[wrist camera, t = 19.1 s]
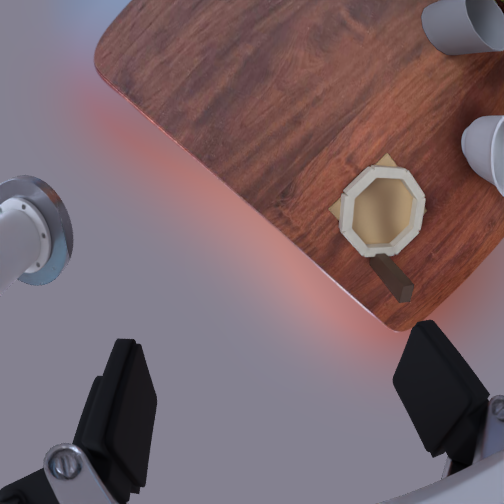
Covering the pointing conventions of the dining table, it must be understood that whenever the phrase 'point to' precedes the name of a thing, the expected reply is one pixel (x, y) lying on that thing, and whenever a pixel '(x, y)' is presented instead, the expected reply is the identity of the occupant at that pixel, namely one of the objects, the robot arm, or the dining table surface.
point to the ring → (380, 252)
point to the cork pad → (380, 208)
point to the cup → (464, 26)
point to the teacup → (486, 149)
